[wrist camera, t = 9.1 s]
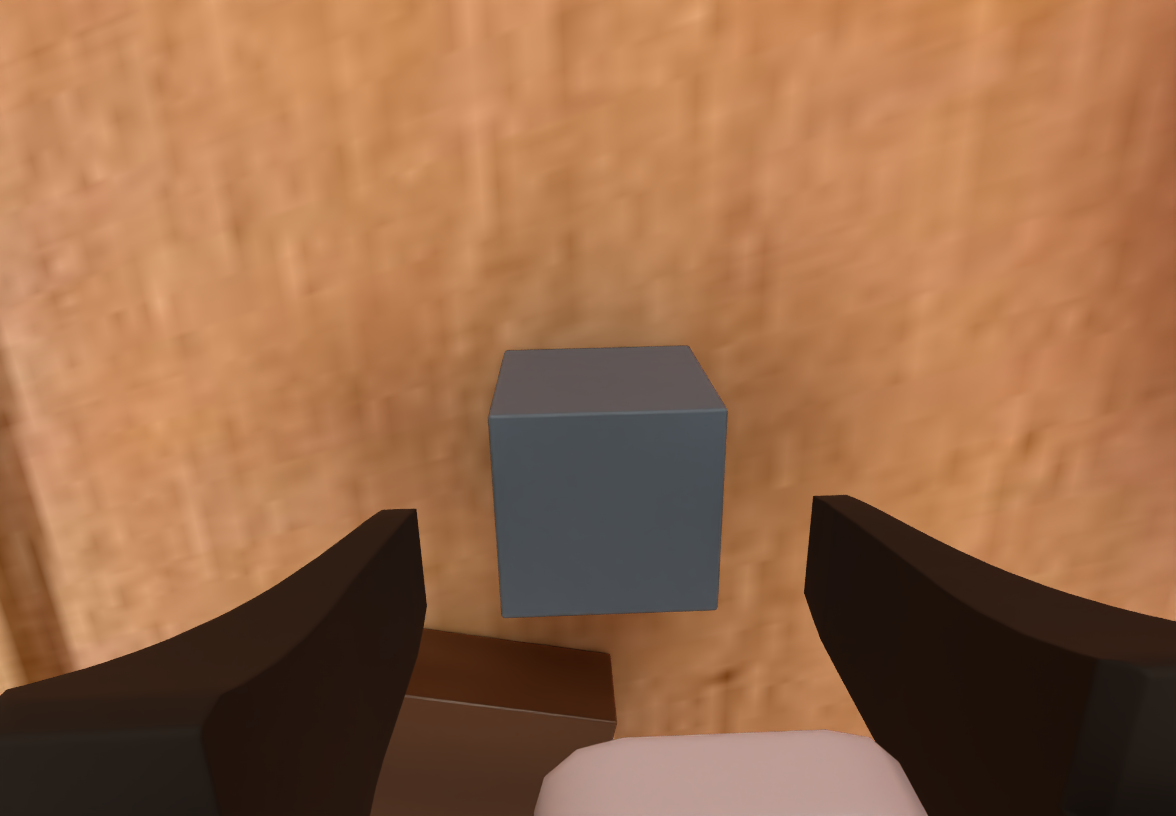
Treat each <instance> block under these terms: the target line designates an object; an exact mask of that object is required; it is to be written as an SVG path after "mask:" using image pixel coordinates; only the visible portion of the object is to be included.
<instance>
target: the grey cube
mask: <svg viewBox="0 0 1176 816" xmlns="http://www.w3.org/2000/svg"><path fill="white" fill-rule="evenodd" d="M727 414H728V411H727V408H726V407H725V405H724V403H723V402H722V400H721V399H720V397H719V395H718V394H717V392H716V390H715V389H714V387H713V385H712V384H711V382H710V380H709V379H708V377H707V375H706V374H705V372H704V370H703V369H702V367H701V366H700V364H699V362H698V361H697V359H696V357H695V356H694V354H693V352H692V351H691V349H690V347H689V346H655V347H618V348H580V349H543V350H507V351H505V353H504V356H503V360H502V364H501V368H500V372H499V376H498V380H497V384H496V388H495V392H494V396H493V400H492V404H491V408H490V412H489V416H488V426H489V441H490V455H491V470H492V484H493V498H494V513H495V527H496V542H497V556H498V571H499V585H500V600H501V614H502V616H503V618H518V617H545V616H573V615H600V614H627V613H655V612H682V611H709V610H717V607H718V592H719V572H720V552H721V532H722V513H723V493H724V473H725V454H726V434H727Z"/></svg>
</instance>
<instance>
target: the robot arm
mask: <svg viewBox="0 0 1176 816" xmlns="http://www.w3.org/2000/svg"><path fill="white" fill-rule="evenodd" d="M804 594H805V597H806V600H807V603H808V606H809V609H810V612H811V615H812V618H813V620H814V623H815V626H816V628H817V631H818V634H819V636H820V639H821V641H822V643H823V645H824V647H825V649H826V651H827V653H828V654H829V656H830V658H831V660H832V662H833V664H834V666H835V668H836V670H837V672H838V673H839V675H840V677H841V679H842V681H843V683H844V685H845V686H846V688H847V690H848V692H849V694H850V696H851V698H852V699H853V701H854V703H855V705H856V707H857V709H858V711H859V712H860V714H861V716H862V718H863V720H864V722H865V724H866V725H867V727H868V729H869V731H870V733H871V735H872V736H873V738H874V740H875V741H873V740H872V739H871V738H870V737H865V736H859V735H854V734H848V733H842V732H837V731H831V730H826V729H824V730H799V731H774V732H749V733H724V734H699V735H675V736H650V737H625V738H620V739H616V740H612V741H608V742H604V743H600V744H596V745H592V746H588V747H584V748H580V749H577V750H576V751H574V752H573V753H572V754H571V755H570V756H568V757H567V758H566V759H565V760H564V761H562V762H561V763H560V764H559V765H558V766H557V767H555V768H554V769H553V770H552V771H551V772H549V773H548V774H547V775H546V776H545V777H544V780H543V783H542V786H541V790H540V793H539V797H538V800H537V803H536V807H535V810H534V816H1176V621H1172V620H1167V619H1163V618H1158V617H1153V616H1149V615H1145V614H1141V613H1137V612H1133V611H1129V610H1125V609H1121V608H1117V607H1113V606H1109V605H1106V604H1103V603H1099V602H1096V601H1092V600H1089V599H1085V598H1082V597H1079V596H1075V595H1072V594H1068V593H1065V592H1062V591H1059V590H1056V589H1053V588H1050V587H1047V586H1044V585H1042V584H1039V583H1036V582H1034V581H1031V580H1028V579H1026V578H1023V577H1020V576H1018V575H1015V574H1012V573H1009V572H1007V571H1004V570H1002V569H1000V568H997V567H995V566H992V565H990V564H988V563H985V562H983V561H981V560H979V559H977V558H974V557H972V556H970V555H968V554H966V553H963V552H961V551H959V550H957V549H955V548H953V547H951V546H949V545H947V544H944V543H942V542H940V541H938V540H936V539H934V538H932V537H930V536H928V535H927V534H925V533H923V532H921V531H919V530H917V529H915V528H913V527H911V526H909V525H907V524H905V523H903V522H902V521H900V520H898V519H896V518H894V517H892V516H890V515H888V514H886V513H884V512H883V511H881V510H879V509H877V508H875V507H873V506H871V505H869V504H867V503H865V502H862V501H860V500H858V499H856V498H853V497H851V496H848V495H832V496H813V503H812V514H811V524H810V535H809V545H808V556H807V567H806V577H805V588H804ZM426 608H427V603H426V594H425V585H424V575H423V566H422V557H421V547H420V538H419V529H418V520H417V510H416V509H392V510H381V511H380V512H378V513H376V514H375V515H373V516H372V517H371V518H369V519H368V520H366V521H365V522H364V523H362V524H361V525H360V526H359V527H357V528H356V529H355V530H353V531H352V532H351V533H349V534H348V535H347V536H345V537H344V538H343V539H341V540H340V541H339V542H337V543H336V544H335V545H333V546H332V547H331V548H329V549H328V550H327V551H325V552H324V553H323V554H321V555H320V556H319V557H317V558H316V559H314V560H313V561H311V562H310V563H308V564H307V565H305V566H304V567H302V568H301V569H299V570H298V571H296V572H295V573H294V574H292V575H291V576H289V577H288V578H286V579H285V580H283V581H282V582H280V583H279V584H277V585H275V586H274V587H272V588H271V589H269V590H267V591H266V592H264V593H262V594H260V595H259V596H257V597H255V598H253V599H252V600H250V601H248V602H246V603H244V604H242V605H240V606H239V607H237V608H235V609H233V610H231V611H229V612H227V613H225V614H223V615H221V616H219V617H217V618H215V619H213V620H210V621H208V622H206V623H204V624H202V625H199V626H197V627H195V628H193V629H190V630H188V631H186V632H184V633H181V634H179V635H177V636H175V637H172V638H170V639H168V640H165V641H163V642H160V643H158V644H155V645H152V646H150V647H147V648H144V649H142V650H139V651H136V652H134V653H131V654H128V655H125V656H122V657H119V658H116V659H113V660H110V661H107V662H104V663H101V664H98V665H95V666H92V667H89V668H85V669H82V670H78V671H75V672H71V673H67V674H64V675H60V676H57V677H53V678H49V679H46V680H42V681H38V682H35V683H31V684H27V685H24V686H20V687H15V688H11V689H7V690H6V691H5V692H4V693H3V694H2V695H1V696H0V816H370V813H371V809H372V804H373V799H374V794H375V790H376V785H377V782H378V778H379V775H380V771H381V767H382V764H383V760H384V757H385V754H386V751H387V748H388V745H389V742H390V739H391V736H392V733H393V730H394V727H395V724H396V721H397V718H398V715H399V712H400V709H401V706H402V703H403V700H404V697H405V694H406V691H407V688H408V685H409V682H410V678H411V675H412V672H413V669H414V666H415V663H416V660H417V656H418V653H419V648H420V642H421V637H422V632H423V626H424V620H425V614H426Z"/></svg>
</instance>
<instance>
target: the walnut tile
mask: <svg viewBox="0 0 1176 816" xmlns="http://www.w3.org/2000/svg"><path fill="white" fill-rule="evenodd" d="M616 725H617V717H616V707H615V696H614V686H613V676H612V666H611V656H610V654H605V653H597V652H590V651H583V650H575V649H568V648H561V647H553V646H546V645H538V644H531V643H524V642H516V641H509V640H502V639H494V638H487V637H480V636H472V635H465V634H458V633H450V632H443V631H436V630H428V629H423V632H422V637H421V642H420V648H419V653H418V656H417V660H416V663H415V666H414V669H413V672H412V675H411V678H410V682H409V685H408V688H407V691H406V694H405V697H404V700H403V703H402V706H401V709H400V712H399V715H398V718H397V721H396V724H395V727H394V730H393V733H392V736H391V739H390V742H389V745H388V748H387V751H386V754H385V757H384V760H383V764H382V767H381V771H380V775H379V778H378V782H377V785H376V790H375V794H374V799H373V804H372V809H371V813H370V816H534V810H535V807H536V803H537V800H538V797H539V793H540V790H541V786H542V783H543V780H544V777H545V776H546V775H547V774H548V773H549V772H551V771H552V770H553V769H554V768H555V767H557V766H558V765H559V764H560V763H561V762H562V761H564V760H565V759H566V758H567V757H568V756H570V755H571V754H572V753H573V752H574V751H576V750H577V749H580V748H584V747H588V746H592V745H596V744H600V743H604V742H608V741H612V740H613V737H614V733H615V729H616Z"/></svg>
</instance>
